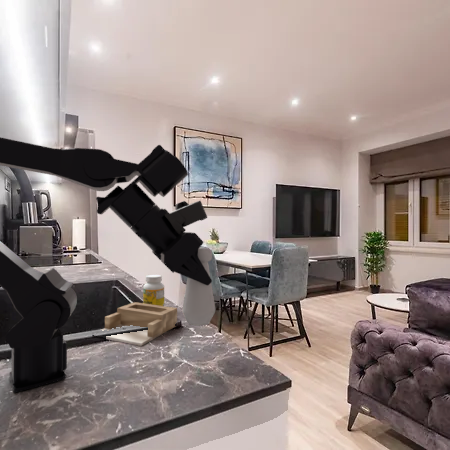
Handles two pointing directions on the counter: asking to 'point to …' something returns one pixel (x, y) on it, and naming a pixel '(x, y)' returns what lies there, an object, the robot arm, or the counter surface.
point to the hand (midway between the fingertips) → (207, 281)
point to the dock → (141, 322)
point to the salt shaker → (199, 296)
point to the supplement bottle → (153, 290)
